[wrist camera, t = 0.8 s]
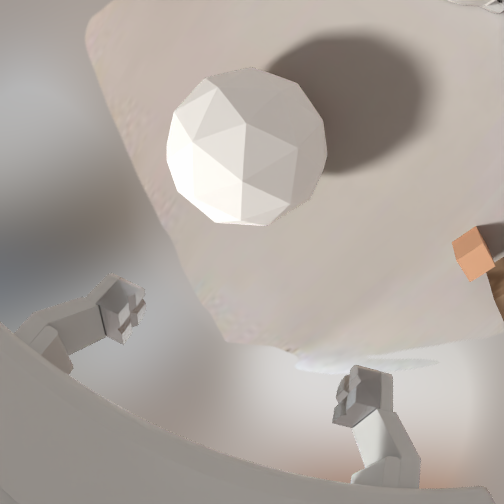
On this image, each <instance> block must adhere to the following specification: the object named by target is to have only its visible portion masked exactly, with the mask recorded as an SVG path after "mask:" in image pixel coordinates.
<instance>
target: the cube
mask: <svg viewBox="0 0 504 504" xmlns="http://www.w3.org/2000/svg"><path fill="white" fill-rule="evenodd" d="M452 245H453V249H454V253H455V257H456V261H457V262H458V264H459V265H460V267H461V268H462V270H463V272H464V273H465V275H466V276H467V278H468V280H469V281H470V282H471V281H473V280H474V279H476V278H478V277H479V276H481V275H482V274H484V273H486V272H487V271H489V270H490V269H492V268H494V267H495V264H494V261H493V259H492V256H491V253H490V251H489V248H488V246H487V245H486V243H485V241H484V239H483V237H482V236H481V234H480V232H479V230H478V229H477V227H476V226H475V227H474V228H472V229H471V230H469V231H468V232H466V233H465V234H463V235H462V236H461V237H459V238H458V239H456V240H455V241H453V242H452Z"/></svg>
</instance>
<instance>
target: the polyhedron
mask: <svg viewBox="0 0 504 504" xmlns="http://www.w3.org/2000/svg"><path fill="white" fill-rule="evenodd" d="M326 158H327V146H326V138H325V131H324V123H323V120H322V118H321V117H320V115H319V114H318V112H317V111H316V109H315V108H314V106H313V105H312V103H311V102H310V100H309V99H308V97H307V96H306V94H305V93H304V92H303V90H302V89H301V87H300V86H299V85H298V83H295V82H293V81H290V80H287V79H285V78H282V77H279V76H277V75H274V74H271V73H268V72H265V71H262V70H259V69H256V68H253V67H250V68H245V69H240V70H235V71H231V72H227V73H222V74H218V75H214V76H210V77H206V78H204V79H203V80H202V81H201V82H200V83H199V85H198V86H197V87H196V88H195V89H194V90H193V91H192V92H191V93H190V94H189V95H188V96H187V98H186V99H185V100H184V101H183V102H182V103H181V104H180V105H179V107H178V108H177V109H176V110H175V111H174V114H173V118H172V122H171V127H170V131H169V136H168V141H167V162H168V165H169V168H170V171H171V174H172V177H173V180H174V183H175V186H176V188H177V191H178V192H179V193H180V194H182V195H183V196H184V197H185V198H186V199H188V200H189V201H190V202H191V203H192V204H194V205H195V206H196V207H197V208H199V209H200V210H201V211H202V212H203V213H205V214H206V215H207V216H208V217H209V218H211V219H212V220H213V221H214V222H215V223H228V224H243V225H259V226H268V225H270V224H271V223H273V222H274V221H276V220H278V219H279V218H281V217H283V216H284V215H286V214H287V213H289V212H291V211H292V210H294V209H295V208H297V207H299V206H300V205H302V204H303V203H305V202H307V201H308V200H310V198H311V196H312V194H313V192H314V190H315V187H316V185H317V183H318V181H319V179H320V176H321V174H322V172H323V170H324V166H325V162H326Z"/></svg>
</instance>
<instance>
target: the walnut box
mask: <svg viewBox="0 0 504 504" xmlns="http://www.w3.org/2000/svg"><path fill="white" fill-rule="evenodd" d="M494 264H495V267H494V268H492V269H490V270H489V271H487V272H486V273H487V276H488V279H489V283H490V286H491V290H492V293H493V297H494V300H495V302H496V305H497V307H498V309H499V311H500V314H501V316H502V318H503V321H504V257H503V258H501V259H500V260H498V261H496V262H495V263H494Z"/></svg>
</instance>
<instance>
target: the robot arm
mask: <svg viewBox="0 0 504 504" xmlns="http://www.w3.org/2000/svg"><path fill="white" fill-rule="evenodd" d="M447 1H450V2H453V3H456V4H461V5H471V6H479V7H482V8H484V9H486V10H488V11H490V12H493V13H496V14H500V13H501V12H503V11H504V0H500V3H499V2H498V1H497V0H447ZM144 296H145V289H144V288H142V287H140V286H138V285H136V284H134V283H132V282H129V281H128V280H125V279H123V278H121V277H119V276H117V275H115V274H113V273H110V274H108V275H107V276H106V277H105V278H104V279H103V280H102V281H101V282H100V283H99V284H98V285H97V286H96V287H95V288H94V289H93V290H92V291H91V292H90V293H89V294H88V295H87V297H86V298H84V297H80V298H77V299H73V300H70V301H68V302H64V303H62V304H58V305H55V306H52V307H49V308H46V309H43V310H40V311H37V312H34V313H33V314H32V315H31V316H30V317H29V318H28V319H27V320H26V321H25V322H24V323H23V324H22V325H21V326H20V327H19V329H18V330H17V331H16V332H15V333H12V332H11V331H10V330H9V329H8V328H7V327H5V326H4V325H3V324H2V323H1V322H0V504H495V502H494V500H493V498H492V496H491V494H490V492H489V491H488V490H487V488H486V487H484V486H474V487H461V488H440V489H419V480H420V462H421V461H420V460H421V458H420V457H419V455H418V453H417V451H416V449H415V447H414V445H413V443H412V441H411V440H410V438H409V436H408V434H407V432H406V430H405V428H404V427H403V425H402V423H401V421H400V419H399V417H398V415H397V414H396V412H393V377H392V375H391V374H388V373H384V372H380V371H378V370H374V369H370V368H366V367H362V366H359V365H355V366H353V367H352V368H351V370H350V375H347V376H345V377H344V378H343V379H342V381H341V382H340V385H339V387H338V390H337V395H336V399H337V401H338V403H339V404H338V405H337V406H336V407H335V409H334V415H333V422H332V423H334V424H338V425H342V426H346V427H350V428H352V431H353V434H354V437H355V440H356V443H357V445H358V448H359V451H360V454H361V457H362V460H363V463H364V466H365V469H362V470H360V471H358V472H356V473H354V474H353V475H352V477H351V483H344V482H337V481H331V480H325V479H320V478H315V477H309V476H305V475H300V474H296V473H291V472H287V471H283V470H279V469H275V468H272V467H268V466H264V465H261V464H257V463H254V462H251V461H247V460H244V459H241V458H238V457H235V456H232V455H229V454H226V453H223V452H220V451H217V450H215V449H212V448H209V447H207V446H204V445H202V444H199V443H196V442H194V441H192V440H189V439H187V438H184V437H182V436H179V435H177V434H175V433H173V432H170V431H168V430H166V429H164V428H162V427H160V426H157V425H155V424H153V423H151V422H149V421H147V420H145V419H143V418H141V417H139V416H137V415H135V414H133V413H131V412H129V411H127V410H126V409H124V408H122V407H120V406H118V405H117V404H114V403H113V402H111V401H110V400H108V399H106V398H104V397H102V396H101V395H99V394H98V393H96V392H94V391H93V390H91V389H89V388H88V387H86V386H85V385H83V384H81V383H80V382H78V381H77V380H75V379H74V378H72V377H71V376H69V374H70V373H71V371H72V370H73V364H72V362H71V360H70V358H69V355H71V354H73V353H74V352H77V351H79V350H81V349H83V348H85V347H87V346H88V345H91V344H93V343H95V342H97V341H99V340H101V339H103V338H105V337H106V336H107V337H109V338H111V339H113V340H115V341H117V342H119V343H121V344H123V345H124V344H125V342H126V341H127V339H128V338H129V337H130V335H131V334H132V327H134V326H137V325H139V323H140V322H141V320H142V318H143V316H144V314H145V310H146V303H145V301H144V300H143V297H144Z"/></svg>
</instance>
